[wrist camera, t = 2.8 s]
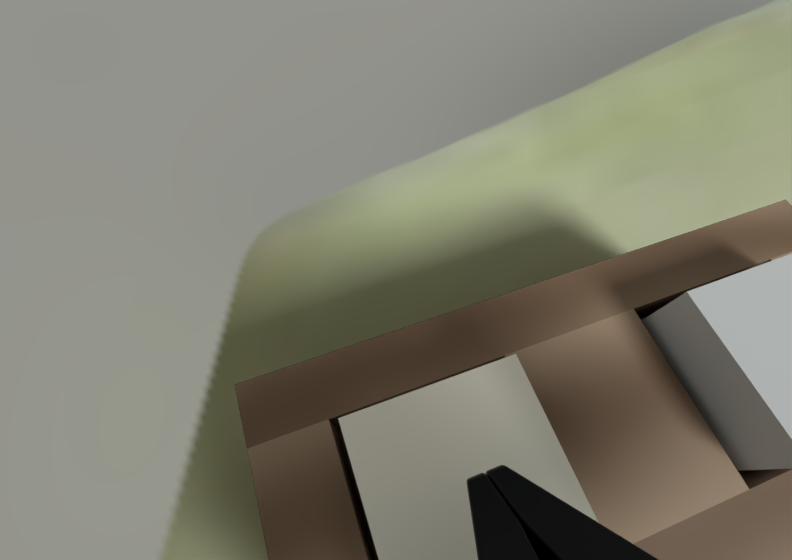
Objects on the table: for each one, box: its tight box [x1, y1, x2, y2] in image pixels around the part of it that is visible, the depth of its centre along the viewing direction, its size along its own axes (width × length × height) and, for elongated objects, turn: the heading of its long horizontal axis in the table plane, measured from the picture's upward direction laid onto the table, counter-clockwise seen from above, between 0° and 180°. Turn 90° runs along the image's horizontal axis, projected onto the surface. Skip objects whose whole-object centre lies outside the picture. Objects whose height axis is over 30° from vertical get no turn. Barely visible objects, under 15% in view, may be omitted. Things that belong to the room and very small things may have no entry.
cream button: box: [338, 354, 599, 560], centre depth 12 cm, size 5×5×3 cm
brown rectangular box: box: [235, 200, 792, 560], centre depth 17 cm, size 10×22×8 cm, turn 110°
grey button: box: [642, 254, 792, 471], centre depth 14 cm, size 5×5×3 cm
